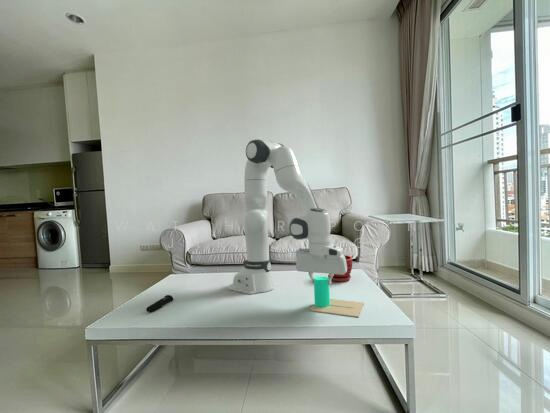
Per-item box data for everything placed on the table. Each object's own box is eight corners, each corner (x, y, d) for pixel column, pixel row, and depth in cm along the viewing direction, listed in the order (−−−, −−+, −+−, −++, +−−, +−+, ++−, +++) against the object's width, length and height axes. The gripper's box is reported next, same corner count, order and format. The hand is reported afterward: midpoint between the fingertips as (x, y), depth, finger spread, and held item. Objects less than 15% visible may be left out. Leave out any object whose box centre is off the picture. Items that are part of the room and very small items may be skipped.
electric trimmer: (143, 314, 112) (143, 306, 112) (166, 300, 127) (166, 293, 127) (151, 315, 111) (151, 307, 111) (174, 300, 126) (173, 293, 126)
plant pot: (328, 283, 141) (327, 259, 141) (326, 276, 154) (326, 254, 154) (354, 283, 140) (353, 259, 139) (351, 275, 153) (350, 254, 152)
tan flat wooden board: (309, 311, 107) (309, 309, 107) (320, 298, 120) (319, 297, 120) (358, 317, 99) (358, 316, 99) (363, 303, 112) (363, 302, 112)
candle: (330, 307, 109) (328, 276, 108) (314, 306, 110) (313, 276, 110) (329, 301, 115) (328, 272, 114) (315, 301, 116) (313, 272, 115)
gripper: (292, 249, 113) (294, 283, 114) (344, 251, 105) (345, 288, 105) (298, 246, 119) (299, 279, 119) (347, 248, 110) (348, 283, 111)
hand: (321, 283), depth 112 cm, fingers closed on candle, 5 cm apart
